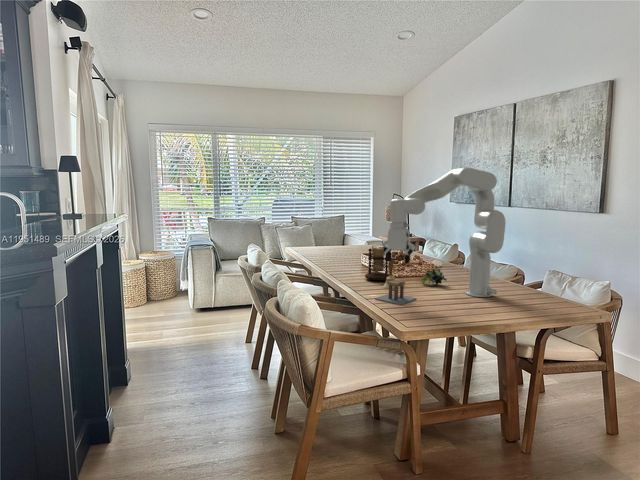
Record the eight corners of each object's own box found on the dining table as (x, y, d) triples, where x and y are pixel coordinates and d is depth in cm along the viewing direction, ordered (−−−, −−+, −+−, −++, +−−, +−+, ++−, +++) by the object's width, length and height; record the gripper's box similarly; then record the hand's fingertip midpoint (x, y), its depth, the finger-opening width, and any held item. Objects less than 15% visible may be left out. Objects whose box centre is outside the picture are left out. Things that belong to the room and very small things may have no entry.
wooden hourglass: (390, 277, 247) (391, 244, 245) (391, 283, 232) (392, 247, 230) (365, 276, 249) (366, 243, 247) (364, 282, 234) (365, 246, 232)
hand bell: (398, 289, 216) (399, 259, 214) (382, 289, 218) (382, 258, 216) (398, 286, 224) (399, 257, 223) (382, 285, 226) (383, 256, 224)
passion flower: (436, 293, 231) (450, 277, 228) (431, 294, 221) (446, 277, 219) (420, 280, 236) (434, 264, 233) (415, 280, 226) (429, 263, 223)
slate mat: (416, 299, 198) (416, 298, 198) (401, 305, 187) (401, 303, 187) (391, 294, 207) (391, 293, 207) (375, 299, 197) (375, 298, 197)
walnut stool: (396, 300, 193) (397, 283, 192) (387, 298, 196) (387, 281, 195) (404, 297, 198) (405, 281, 197) (395, 295, 201) (395, 279, 201)
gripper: (419, 226, 190) (418, 263, 192) (386, 224, 202) (386, 259, 204) (410, 227, 185) (410, 265, 187) (378, 225, 196) (378, 261, 198)
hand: (398, 262), depth 195 cm, fingers open, 9 cm apart
